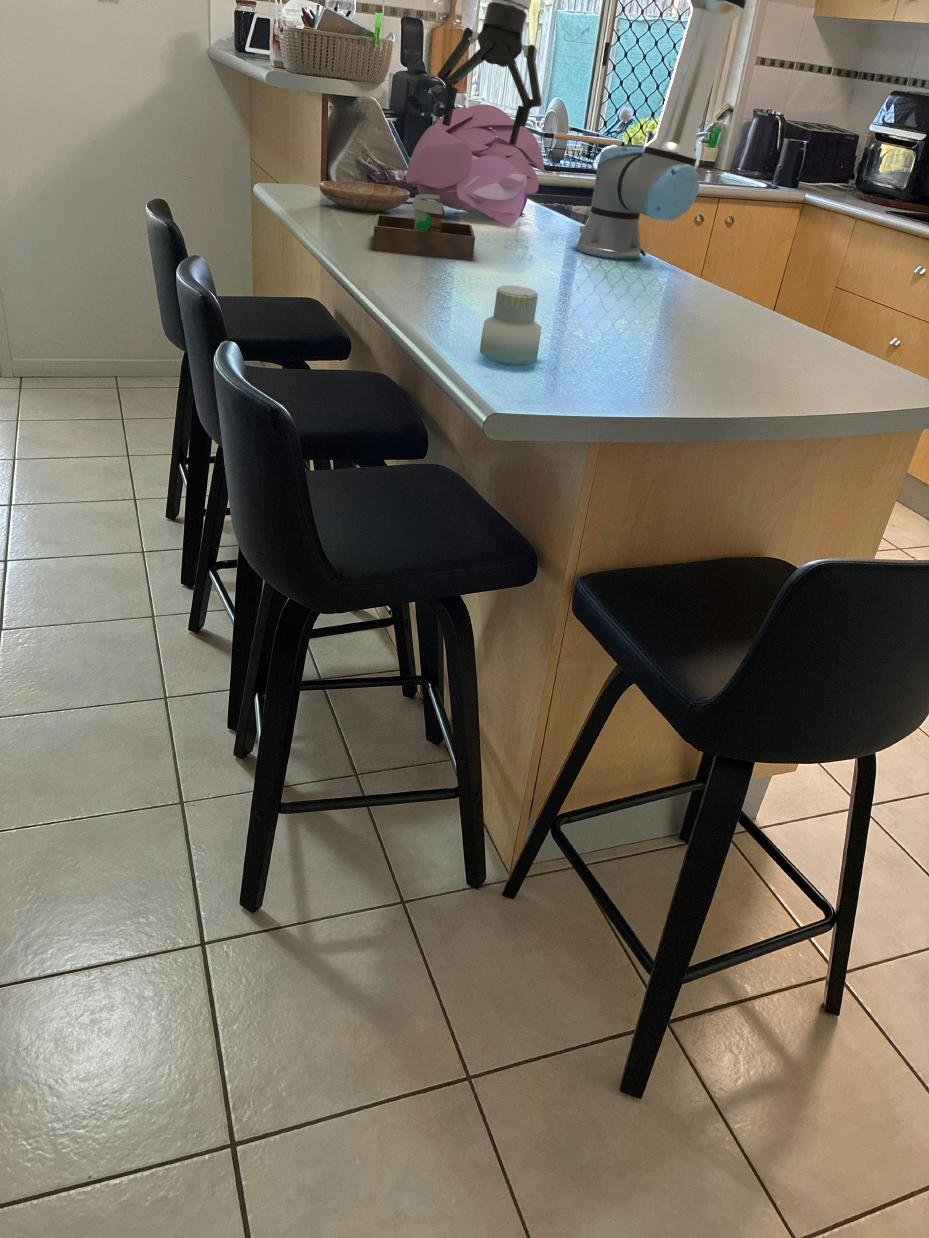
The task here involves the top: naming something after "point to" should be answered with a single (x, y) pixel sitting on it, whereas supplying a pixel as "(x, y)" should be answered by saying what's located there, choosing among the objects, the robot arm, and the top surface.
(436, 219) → the food container
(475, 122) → the flower arrangement
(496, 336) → the air freshener
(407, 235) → the wooden tray
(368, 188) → the wooden bowl
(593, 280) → the top surface
